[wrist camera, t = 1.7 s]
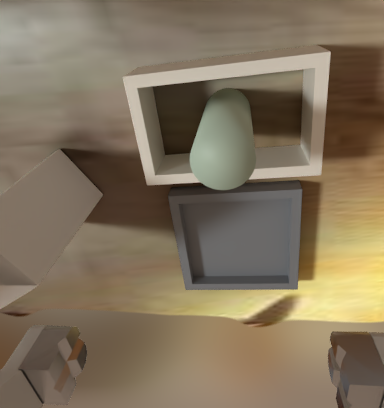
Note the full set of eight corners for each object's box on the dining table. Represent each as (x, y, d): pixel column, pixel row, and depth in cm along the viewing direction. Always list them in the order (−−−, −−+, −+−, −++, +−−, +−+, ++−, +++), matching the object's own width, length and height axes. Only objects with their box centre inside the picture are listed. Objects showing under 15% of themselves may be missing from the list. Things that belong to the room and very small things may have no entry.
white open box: (138, 67, 31) (122, 76, 26) (316, 44, 28) (330, 51, 24) (157, 164, 36) (146, 185, 31) (310, 153, 33) (321, 175, 29)
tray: (171, 187, 37) (167, 196, 35) (299, 180, 35) (302, 189, 33) (187, 278, 44) (185, 289, 42) (295, 277, 42) (297, 289, 40)
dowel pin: (202, 90, 31) (185, 132, 21) (249, 85, 30) (255, 125, 20) (207, 135, 33) (194, 191, 23) (251, 131, 33) (256, 188, 22)
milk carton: (104, 193, 39) (8, 328, 22) (66, 220, 41) (-44, 357, 25) (60, 147, 36) (-84, 260, 20) (22, 179, 39) (-130, 301, 23)
